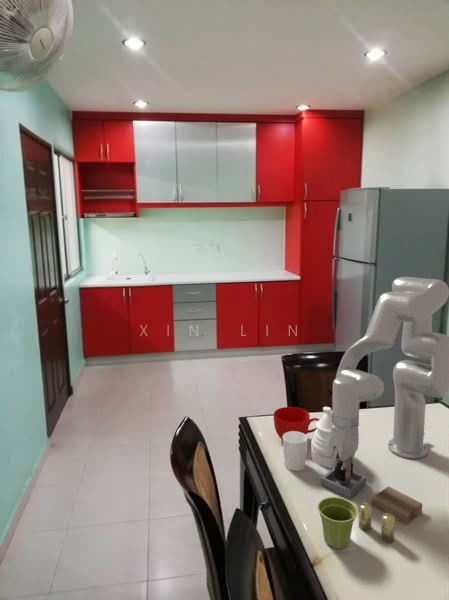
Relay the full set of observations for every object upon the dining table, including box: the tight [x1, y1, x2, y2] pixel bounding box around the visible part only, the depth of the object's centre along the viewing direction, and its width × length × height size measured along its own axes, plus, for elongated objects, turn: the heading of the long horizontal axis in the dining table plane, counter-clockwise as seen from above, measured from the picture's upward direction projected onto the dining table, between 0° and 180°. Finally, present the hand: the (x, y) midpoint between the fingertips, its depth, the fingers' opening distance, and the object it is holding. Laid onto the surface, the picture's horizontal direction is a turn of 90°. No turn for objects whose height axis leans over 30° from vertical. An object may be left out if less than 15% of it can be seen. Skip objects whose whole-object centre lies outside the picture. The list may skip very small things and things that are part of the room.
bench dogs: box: [358, 502, 396, 544], centre depth 107 cm, size 3×9×6 cm, turn 45°
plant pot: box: [317, 496, 358, 549], centre depth 104 cm, size 9×9×9 cm
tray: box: [320, 467, 367, 500], centre depth 127 cm, size 10×10×2 cm
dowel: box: [337, 456, 351, 484], centre depth 126 cm, size 4×4×8 cm
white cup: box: [282, 431, 308, 472], centre depth 137 cm, size 8×8×10 cm
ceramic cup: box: [273, 406, 320, 441], centre depth 153 cm, size 13×17×10 cm
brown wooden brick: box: [371, 485, 423, 526], centre depth 116 cm, size 8×10×3 cm
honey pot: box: [310, 406, 334, 469], centre depth 141 cm, size 13×13×18 cm
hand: (343, 476), depth 127 cm, fingers closed on dowel, 3 cm apart
